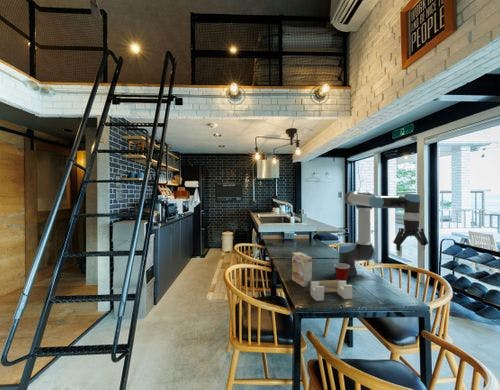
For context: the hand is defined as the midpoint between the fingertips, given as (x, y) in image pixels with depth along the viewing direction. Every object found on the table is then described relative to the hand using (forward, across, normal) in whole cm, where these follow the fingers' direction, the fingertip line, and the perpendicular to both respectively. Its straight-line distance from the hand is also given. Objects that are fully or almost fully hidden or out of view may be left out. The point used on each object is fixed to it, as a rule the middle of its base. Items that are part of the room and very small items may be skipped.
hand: (410, 256), depth 144 cm
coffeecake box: (+28, -54, +34) cm, 69 cm away
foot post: (+27, -34, +10) cm, 45 cm away
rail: (+27, -43, +19) cm, 55 cm away
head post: (+27, -52, +10) cm, 59 cm away
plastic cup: (+28, -25, +33) cm, 50 cm away
